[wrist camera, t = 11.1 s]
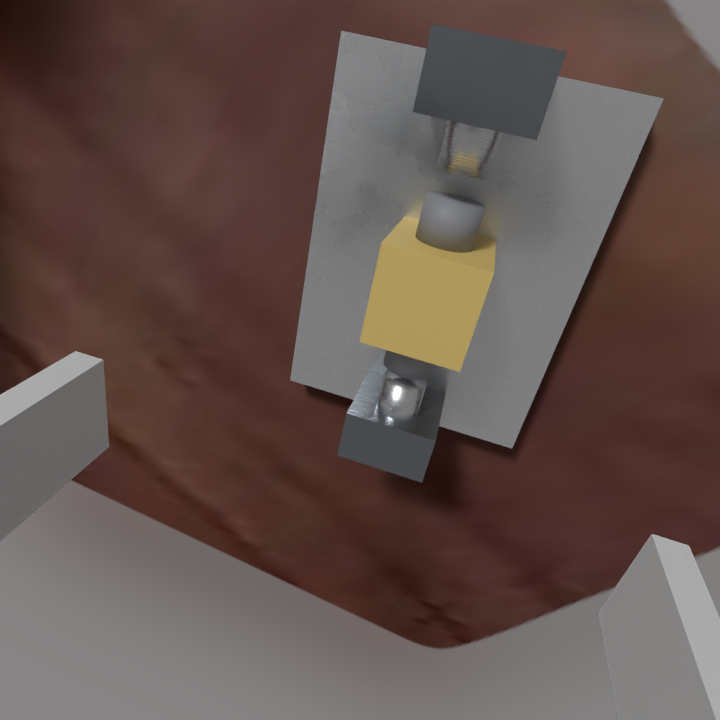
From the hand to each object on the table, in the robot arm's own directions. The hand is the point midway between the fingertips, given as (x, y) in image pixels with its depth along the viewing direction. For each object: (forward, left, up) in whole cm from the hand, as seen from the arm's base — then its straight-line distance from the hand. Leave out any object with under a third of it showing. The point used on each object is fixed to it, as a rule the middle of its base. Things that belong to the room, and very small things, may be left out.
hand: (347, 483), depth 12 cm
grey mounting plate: (0, 0, -20) cm, 21 cm away
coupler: (0, 0, -18) cm, 19 cm away
